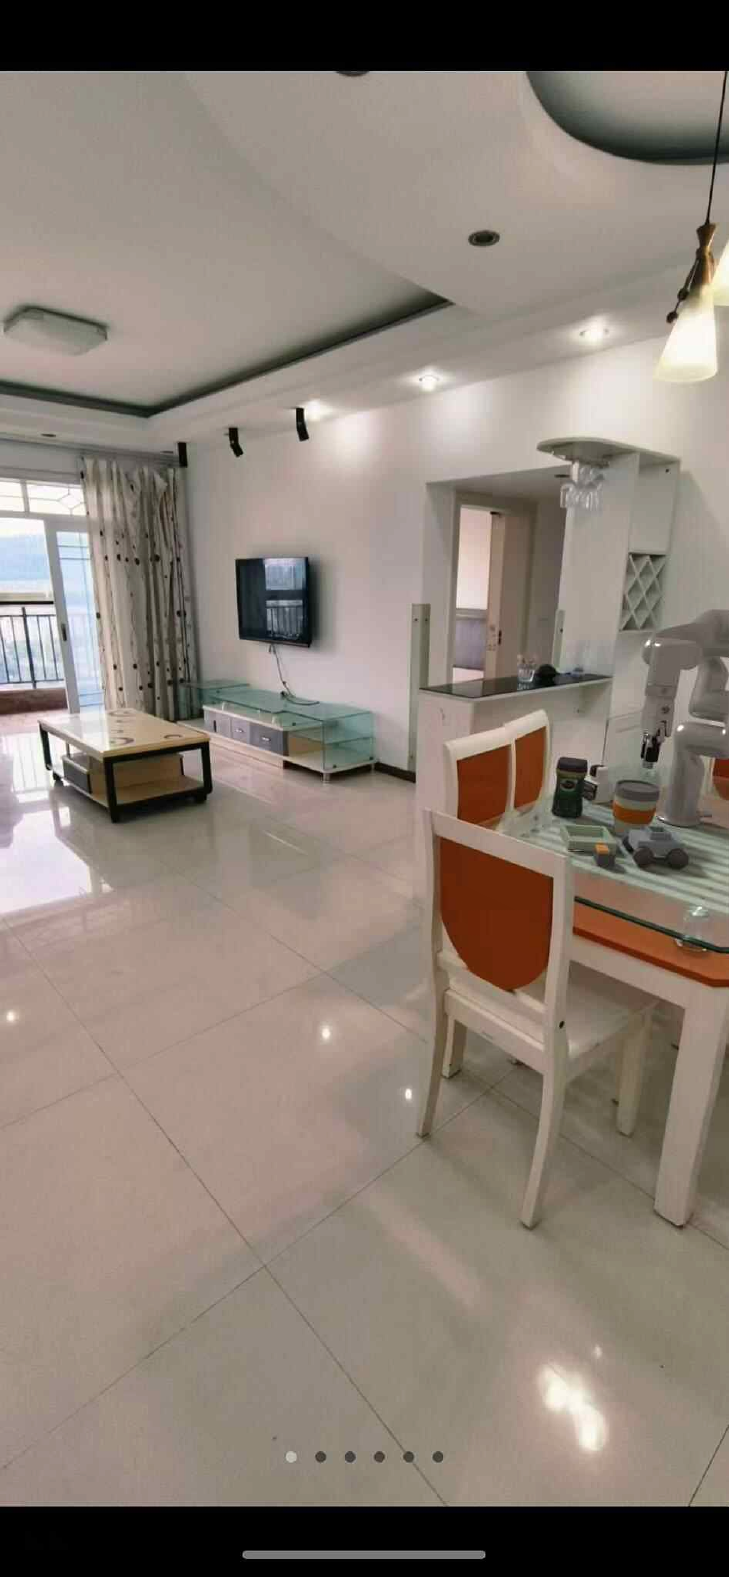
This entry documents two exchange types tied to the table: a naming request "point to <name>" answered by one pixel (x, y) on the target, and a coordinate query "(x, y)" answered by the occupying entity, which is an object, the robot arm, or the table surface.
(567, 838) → the tray
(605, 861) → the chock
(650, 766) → the pin
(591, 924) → the table surface
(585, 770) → the coffee jar
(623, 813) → the reusable coffee cup
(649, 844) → the toy car
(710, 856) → the table surface
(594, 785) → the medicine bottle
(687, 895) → the table surface
